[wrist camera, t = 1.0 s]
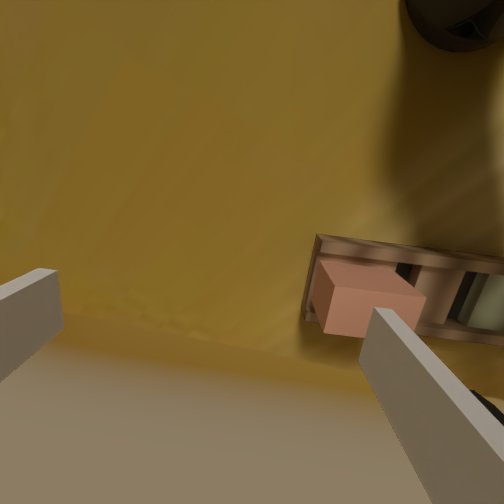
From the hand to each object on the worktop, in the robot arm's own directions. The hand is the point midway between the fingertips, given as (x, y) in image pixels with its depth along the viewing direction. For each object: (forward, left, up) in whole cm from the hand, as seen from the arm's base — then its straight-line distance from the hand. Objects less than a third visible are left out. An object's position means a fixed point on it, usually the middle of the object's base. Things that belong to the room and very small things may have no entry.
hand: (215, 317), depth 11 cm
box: (-16, +24, -27) cm, 40 cm away
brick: (-7, +16, -24) cm, 30 cm away
